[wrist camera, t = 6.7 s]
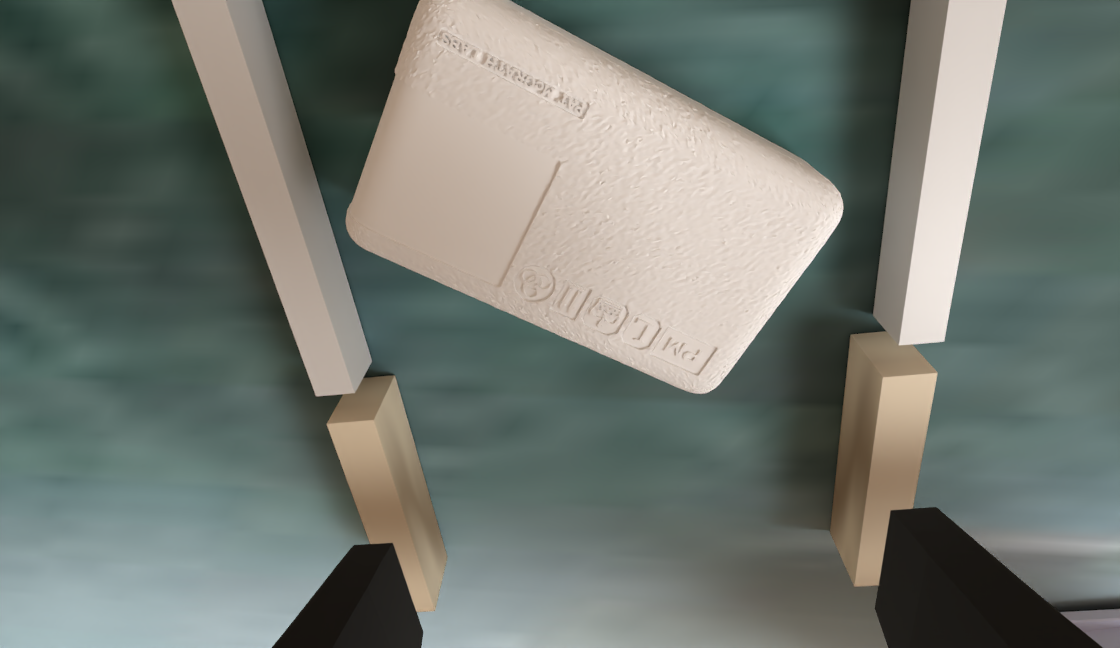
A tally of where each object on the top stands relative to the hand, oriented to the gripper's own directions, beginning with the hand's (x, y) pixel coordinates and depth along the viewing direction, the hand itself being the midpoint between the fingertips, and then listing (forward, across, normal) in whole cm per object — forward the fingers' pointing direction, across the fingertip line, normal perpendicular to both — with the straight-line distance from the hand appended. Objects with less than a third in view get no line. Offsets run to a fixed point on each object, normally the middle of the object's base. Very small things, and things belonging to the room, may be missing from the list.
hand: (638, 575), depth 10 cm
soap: (+8, 0, -4) cm, 9 cm away
